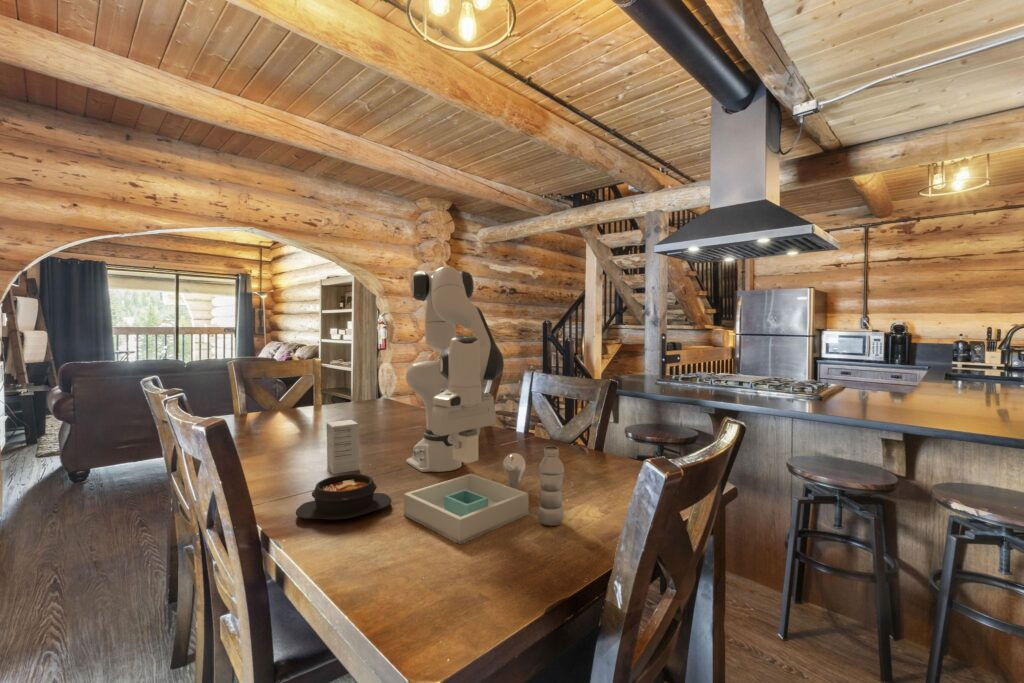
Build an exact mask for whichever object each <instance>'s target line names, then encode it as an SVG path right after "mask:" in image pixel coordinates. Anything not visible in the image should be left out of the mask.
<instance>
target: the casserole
mask: <svg viewBox="0 0 1024 683" xmlns="http://www.w3.org/2000/svg"><path fill="white" fill-rule="evenodd" d="M377 488H378V486H377V484H376V483H375V482H374V479H373V477H371V476H369V475H367V474H366V475H365V474H362V473H361V474H360V473H353V474H352V473H348V474H340V475H334V476H330V477H327V478H324V479H322V480H320V481H318V482H317V483H316V485H315V487H314V490H313V491H312V493H311V496H312V498H314V499H313V500H310V501H307V502H304V503H302V504H301V505H300V506H299V507H297V509H296V511H295V515H296V517H298V518H299V519H302V520H303V519H304V520H314V519H315V520H317V519H318V520H333V521H341V520H342V521H343V520H348V519H349V520H350V519H353V518H356V517H360V516H363V515H366V514H368V513H372V512H375V511H376V512H377V511H380V510H383V509H386V508H387V507H389V505H391V503H392V498H391V497H390V496H389V495H388V494H386V493H384V492H375V491H376V490H377Z"/></svg>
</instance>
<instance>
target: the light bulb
mask: <svg viewBox="0 0 1024 683" xmlns="http://www.w3.org/2000/svg"><path fill="white" fill-rule="evenodd" d="M502 467H503V470H504V472H505V473H506V475H507V479H508V480H507V481H508V486H509V487H512V488H515V489H518V490H520V488H521V487H520V484H521V482H520V481H521V479H522V478H521V477H522V475H523V474H524V473H525V469H526V461H525V458H524V457H523V455H521V454H519V453H517V452H516V453H515V452H513V453H509V454H507V456H506V457H505V458H504V459H503V464H502Z"/></svg>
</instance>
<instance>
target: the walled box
mask: <svg viewBox="0 0 1024 683" xmlns="http://www.w3.org/2000/svg"><path fill="white" fill-rule="evenodd" d="M403 515H404V517H406V518H408V519H410V520H412V521H414V522H416V523H417V522H418V524H419V523H420V524H419V525H421V524H422V525H421V526H423V525H424V526H423V527H425V526H426V527H425V528H427V527H428V528H427V529H429V528H430V529H429V530H431V529H432V530H431V531H433V530H434V531H433V532H435V531H436V532H437V534H438V533H439V534H438V535H440V534H441V535H440V536H442V535H443V536H442V537H444V536H445V537H444V538H446V537H447V538H446V539H448V538H449V539H448V540H450V541H452V540H453V541H452V542H454V543H456V544H457V543H458V545H459V544H461V545H463V544H465V543H467V542H469V540H470V541H473V540H474V539H476V537H477V538H479V537H481V536H483V535H485V533H486V534H488V533H490V532H492V530H493V531H494V529H495V530H497V529H499V528H502V527H504V526H507V525H508V524H511V523H513V522H515V521H518V520H520V519H521V518H525V517H526V515H527V516H529V493H528V492H526V491H523V490H520V489H515V488H512V487H509V485H506V484H503V483H500V482H496V481H494V480H491V479H489V478H486V477H483V476H479V475H476V474H474V473H467V474H465V475H460V476H459V477H455V478H451V479H449V480H445V481H442V482H439V483H435V484H432V485H429V486H426V487H421V488H419V489H414V490H411V491H408V492H405V493H403ZM524 516H525V517H524ZM517 519H518V520H517ZM436 532H435V533H436ZM466 541H467V542H466ZM464 542H465V543H464ZM462 543H463V544H462Z"/></svg>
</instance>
